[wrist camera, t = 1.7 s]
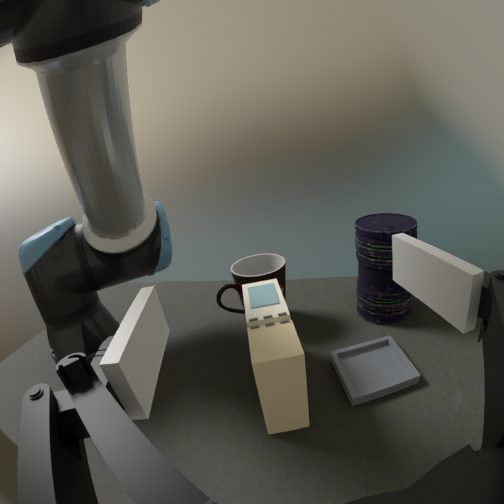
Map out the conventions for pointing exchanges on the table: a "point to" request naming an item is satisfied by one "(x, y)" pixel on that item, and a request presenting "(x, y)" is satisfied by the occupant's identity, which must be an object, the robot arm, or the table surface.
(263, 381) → the cream rectangular block
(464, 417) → the table surface
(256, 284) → the cream box with panel
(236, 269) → the coffee mug
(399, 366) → the tray
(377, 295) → the storage jar
